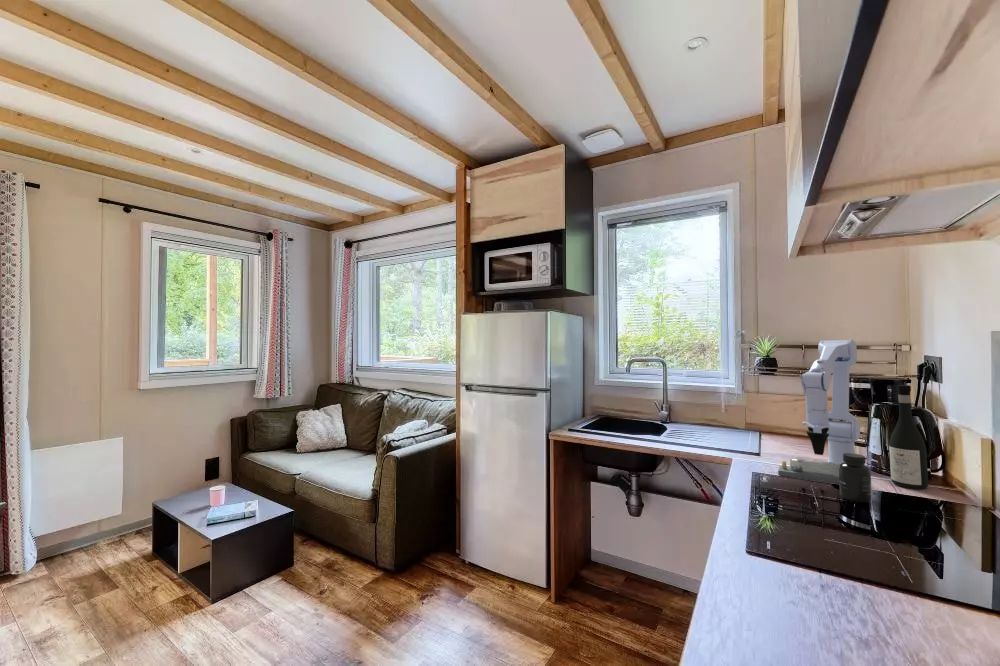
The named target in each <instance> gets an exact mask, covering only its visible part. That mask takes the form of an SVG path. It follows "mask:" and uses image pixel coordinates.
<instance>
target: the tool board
mask: <svg viewBox="0 0 1000 666" xmlns="http://www.w3.org/2000/svg"><path fill="white" fill-rule="evenodd" d="M781 464H782V465H780V466H779V467H778V471H777V474H778V475H777V476H781V475H783V476H782V477H790V478H797V479H802V480H804V479H805V480H811V481H820V482H824V483H825V482H826V483H832V484H833V483H834V484H839V478H838V477H833V476H828V475H820V474H812V473H805V472H795V471H791V470H790V466H787V461H786V460H781Z"/></svg>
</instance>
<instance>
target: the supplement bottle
mask: <svg viewBox="0 0 1000 666" xmlns="http://www.w3.org/2000/svg"><path fill="white" fill-rule="evenodd" d="M843 461H844V463H841V464H840V465H839V483H838V484H839V495H840V497H841V498H842V499H844V500H847V501H850V502H854V501H855V503H862V502H866V503H870V502H872V498H873V497H872V495H873V494H872V493H873V492H872V475H871V474H872V473H871V469H870V467H869V466H867V465H866V463H867V461H866V456H865V455H863V454H859V453H855V454H853V453H844V454H843Z"/></svg>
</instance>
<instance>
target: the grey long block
mask: <svg viewBox="0 0 1000 666" xmlns="http://www.w3.org/2000/svg"><path fill="white" fill-rule="evenodd" d="M840 464H841V463H839V462H828V461H825V460H823V461H822V460H814V459H805V458H799V457H790V458H789V467H790V470H791V471H795V472H805V473H812V474H820V475H828V476H833V477H838V478H839V465H840Z"/></svg>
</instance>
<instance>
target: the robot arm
mask: <svg viewBox="0 0 1000 666" xmlns="http://www.w3.org/2000/svg"><path fill="white" fill-rule="evenodd" d="M857 347H858V346H857V344H856V342H855V341H854V339H848V340H847V339H846V340H843V339H841V340H838V339H837V340H822V339H821V340H820V341H819V342H818V346H817V348H818V355H819V358H818V359H816V360H814V362H813V363H812V364H811V367H810V368H809V370H808V371H805V373H802V375H801V379H800V380H801V381H800V384H801V388H802V393H803V395H804V398H805V416H806V417H805V418H806V421H802V422H801V424H802V426H803V425H805V426H807V430H806V434H807V436H808V437H809V439H810V442H811V446H812V449H813V453H814V455H820V456H824V452H825V446H826V442H827V447H828V458H827V462H839V463H844V461H843V454H844V453H853V454H856V451H855V450H856V449H855V448H856V447H855V442H856V441H858V440H859V439H860V435H861V427H860V421H859V419H858V418H857V417H856V416H854V415H853V414H851V413H850V412H849V411H850V372H851V367H852V366H854V365H856V364H857V357H858V353H857V352H858V350H857V349H858V348H857ZM831 375H832V380H831ZM831 381H832V388H831V390H832V391H831V392H832V394H831V411H829V409H828V408H829V405H828V390H829V388H830V383H831Z"/></svg>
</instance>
